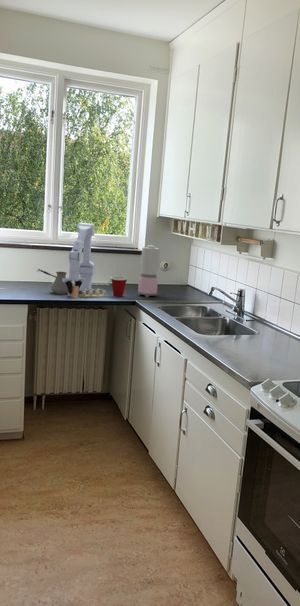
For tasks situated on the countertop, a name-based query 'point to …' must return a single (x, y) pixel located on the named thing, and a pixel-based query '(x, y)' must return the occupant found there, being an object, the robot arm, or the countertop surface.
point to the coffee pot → (58, 283)
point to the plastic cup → (118, 285)
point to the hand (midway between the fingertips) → (73, 293)
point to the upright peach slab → (74, 291)
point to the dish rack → (92, 293)
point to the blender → (149, 271)
